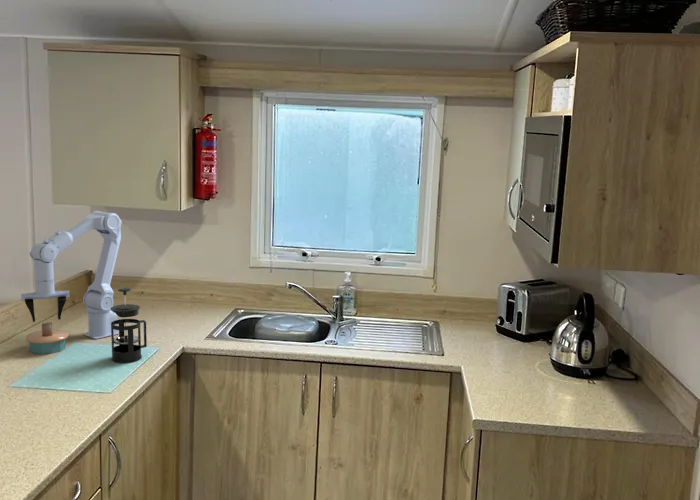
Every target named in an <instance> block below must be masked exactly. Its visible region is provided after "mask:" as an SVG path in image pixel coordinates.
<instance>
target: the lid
mask: <svg viewBox="0 0 700 500" xmlns="http://www.w3.org/2000/svg"><path fill="white" fill-rule="evenodd" d="M69 335H70V334H69V332H68V331H67V330H62V329H53V322H51V321H50V322H49V321H46V322H42V323H41V330H38V331H33V332H31V333H29V334H27V335H26V336H25V341H26V342H27V343H29V342H31V343H53V342H58V341H62V340H65V341H66V339H68V338H69Z"/></svg>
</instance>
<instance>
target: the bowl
mask: <svg viewBox="0 0 700 500" xmlns="http://www.w3.org/2000/svg"><path fill="white" fill-rule="evenodd" d="M28 343H29V352H30V353H33V354H37V355H38V354H39V355H41V354H42V355H45V354H54V353H59V352H61V351H64V350H65V349H66V339H65V340H62V341H58V342H53V343H31V342H28Z"/></svg>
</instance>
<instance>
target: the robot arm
mask: <svg viewBox="0 0 700 500" xmlns="http://www.w3.org/2000/svg"><path fill="white" fill-rule="evenodd" d="M122 222H123V221H122V220H121V218H120V217H119V215H118V214H117V213H115V212H107V211H106V212H104V211H100V210H94V211H92V213H89V214H87V215H86V217H85V218H84V219H82V220H81V221H80V222H78V223H76V224H75V225H74V226H72V227H71V228H70V229H69V230H67V231H65V230H60V231H59V230H57V231H55V232H54V235H52V236H50V237H49V238H46V239H44V240H43V242H42V243H41V242H38V243H36V244H34V245H33V246H32V247H31V250H30V251H29V255H30V257H31V259H32V260H33V261H32V262H33V266H34V285H35V292H29V293H27V292H26V293H20V299H21V300H20V301H21V302H24V303H25V306H26V307H27V309H28V311H29V313H30V316H31V319H32V322H33V323H35V322H36V317H35V315H36V314H35V304H34V303H35V302H34V300H35V301H36V300H45V299H57V319H58V321H59V320H61V319H62V317H61V316H62V313H63V309H64V306H65V304H66V303H67V299H68V298H70V290H55V289H56V288H55V274H54V272H55V270H54V261H55V260H56V258H57V256H58V254H60V253H61V252H63V251H64V250H66V249H67V248H69V247H70V246H72V245H73V241H74V240H76V239H78V238H79V237H81V236H82V235H85V234H86V233H88V232H90V231H92V230H95V231H97V232H98V233H99V234H100V236H101V237H102V238H103V243H102V247H101V252H100V256H99V259H98V260H99V261H98V264H97V266H96V267H97V268H96V272H95V276H94V279H93V282H92V284H90V285H89V286H88V287H87V291H86V292H85V293H84V295H83V298H82V303H83V306H85V307H86V311H87V322H88V323H87V326H88V332H84V333H83V335H84V336H86V337H88V338H91V339H94V340H98V339H103V338H107V337H111V322H113V321H115V320H118V315H117V314H116V313H113V312H112V311H111V307H113V306H114V293H115V292H114V290H113V288H112V287H111V283H112V278H113V274H114V269H115V266H116V260H117V257H118V254H119V249H120V244H121V240H122V232H121V229H122V227H121V226H122V224H123V223H122ZM115 326H119V324H116V325H115ZM113 332H114V336H115V335H119V330H114V329H113Z"/></svg>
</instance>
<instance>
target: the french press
mask: <svg viewBox="0 0 700 500" xmlns="http://www.w3.org/2000/svg"><path fill="white" fill-rule="evenodd" d="M131 291H132V288H129V287H122V288H119V289H118V290H117V292H120V293H121V292H122V293H123V298H124V304H123V303H122V304H116V305H113V306H112V307H111V311H112V312H113V313H116V314H117V317H120V319H117V320H115V321H113V322H111V336H110V337H111V339H110V340H111V357H110V358H111V361H112V362H114V363H118V364H127V363H129V364H130V363H134V362H139V360H142V357H143V355H142V349H144V348H147V341H148V340H147V321H146V320H144V319H143V320H142V319H141V320H139V319H137V318H131V317H136V316H138V315H139V311H140V309H141V306H140V305H137V304H132V303H131V304H129V303H128V304H127V301H126V298H127V297H126V296H127V293H128V292H131ZM129 323H130V324H131V325H127V324H129ZM141 323H143V345H142V344H141V341H142V340H141V338H142V337H141ZM116 324H117V325H118V326H115V325H116ZM113 329H114V330H118V332H119V334H118V336H115V335H114V332H113ZM136 329H137V335H134V330H136ZM136 343H138V344H136ZM115 345H116V346H115Z"/></svg>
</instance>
